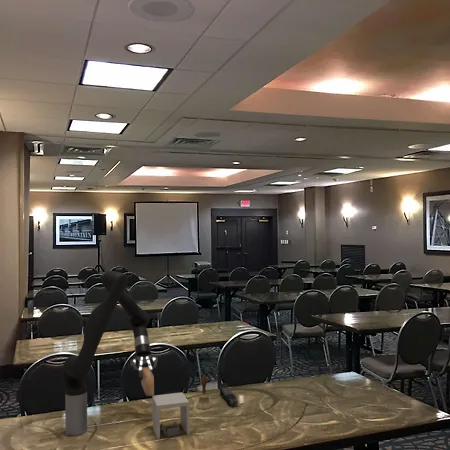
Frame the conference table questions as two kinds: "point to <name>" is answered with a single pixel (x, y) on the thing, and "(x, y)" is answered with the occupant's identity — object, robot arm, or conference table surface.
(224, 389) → the gun
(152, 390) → the rounded end wooden stick
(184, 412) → the grey arch stand
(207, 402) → the hand bell
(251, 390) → the conference table surface
